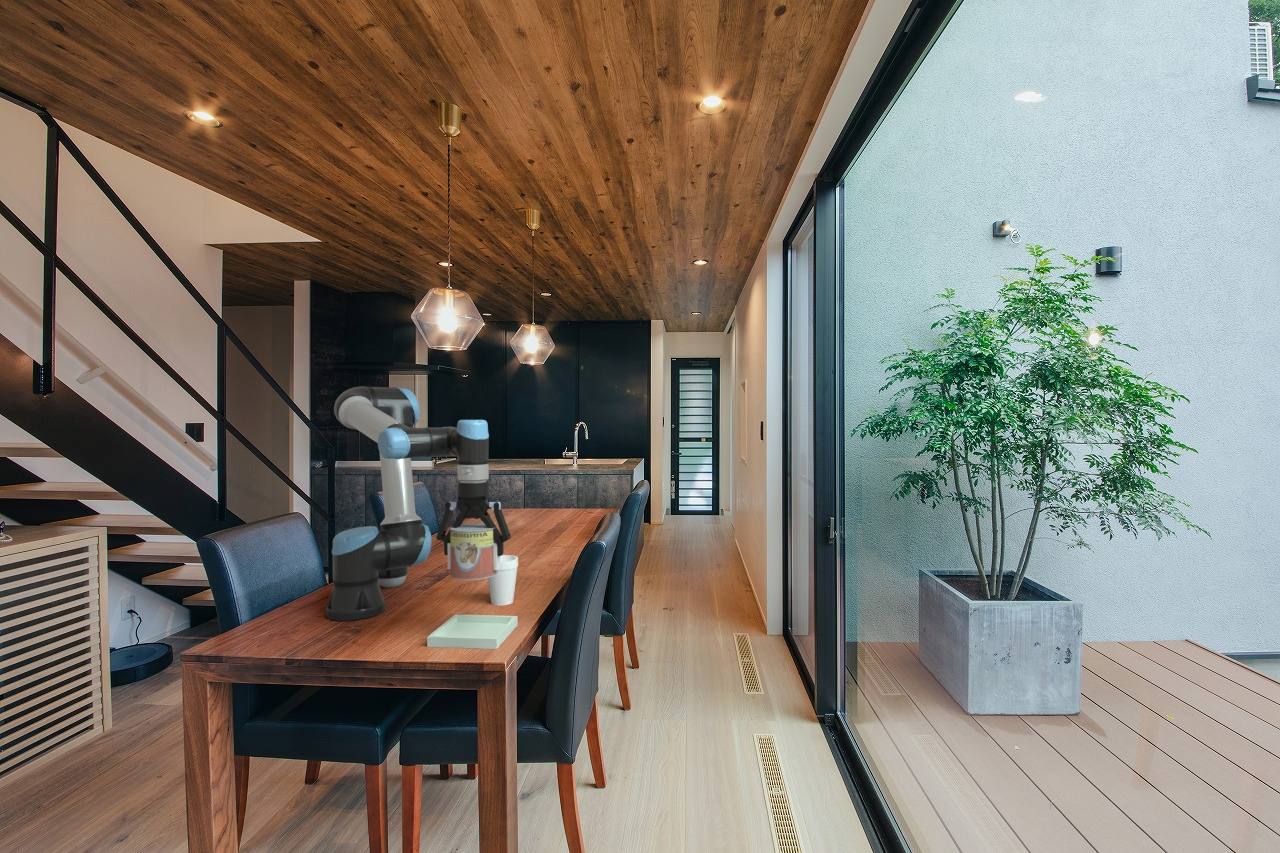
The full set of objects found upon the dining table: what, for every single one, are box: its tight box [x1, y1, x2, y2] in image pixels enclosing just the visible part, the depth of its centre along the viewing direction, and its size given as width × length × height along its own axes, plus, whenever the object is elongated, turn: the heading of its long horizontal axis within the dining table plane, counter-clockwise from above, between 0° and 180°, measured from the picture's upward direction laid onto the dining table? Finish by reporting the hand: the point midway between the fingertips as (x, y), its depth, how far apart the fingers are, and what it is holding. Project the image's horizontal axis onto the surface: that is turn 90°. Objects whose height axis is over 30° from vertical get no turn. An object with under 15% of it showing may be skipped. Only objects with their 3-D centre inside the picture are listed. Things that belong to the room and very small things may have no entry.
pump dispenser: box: [378, 567, 409, 589], centre depth 202 cm, size 10×10×15 cm
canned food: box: [449, 522, 498, 581], centre depth 155 cm, size 11×11×12 cm
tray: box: [426, 613, 519, 650], centre depth 155 cm, size 17×17×2 cm
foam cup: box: [487, 554, 519, 606], centre depth 183 cm, size 10×9×13 cm
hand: (473, 568), depth 155 cm, fingers closed on canned food, 11 cm apart
